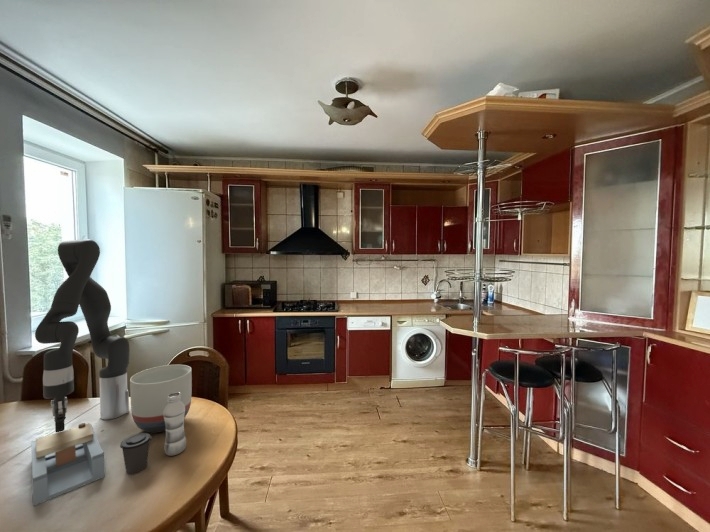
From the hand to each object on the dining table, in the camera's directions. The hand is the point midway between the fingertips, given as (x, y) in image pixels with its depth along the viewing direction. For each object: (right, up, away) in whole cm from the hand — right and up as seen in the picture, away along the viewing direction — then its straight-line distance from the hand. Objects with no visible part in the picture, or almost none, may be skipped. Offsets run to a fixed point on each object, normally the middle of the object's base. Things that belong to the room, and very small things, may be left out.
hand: (60, 430), depth 105 cm
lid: (+6, -1, -5) cm, 8 cm away
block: (+6, -7, -5) cm, 11 cm away
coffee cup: (+32, -8, -8) cm, 34 cm away
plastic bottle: (+39, -8, 0) cm, 40 cm away
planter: (+25, -8, +16) cm, 31 cm away
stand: (+9, -8, -7) cm, 14 cm away
